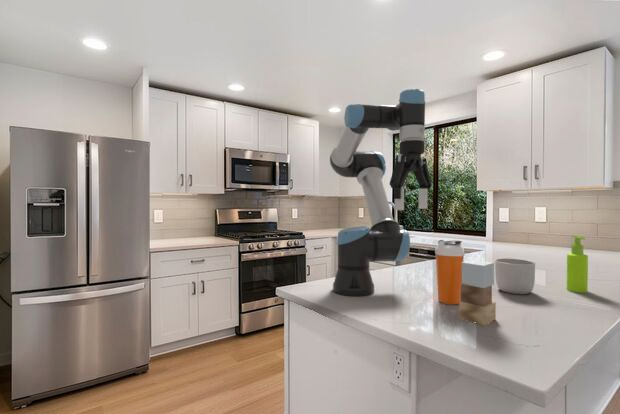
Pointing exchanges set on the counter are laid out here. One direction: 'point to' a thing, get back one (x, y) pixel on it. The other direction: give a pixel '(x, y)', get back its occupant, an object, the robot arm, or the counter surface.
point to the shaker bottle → (449, 271)
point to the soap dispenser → (577, 268)
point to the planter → (515, 275)
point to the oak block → (477, 312)
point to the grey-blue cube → (478, 273)
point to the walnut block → (476, 295)
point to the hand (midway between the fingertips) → (411, 209)
